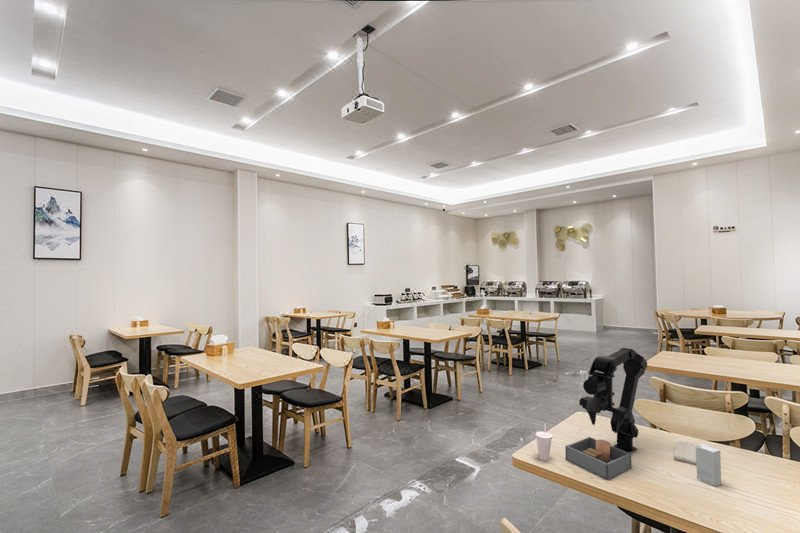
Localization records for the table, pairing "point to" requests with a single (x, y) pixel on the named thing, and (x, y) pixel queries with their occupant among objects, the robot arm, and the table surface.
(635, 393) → the robot arm
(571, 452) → the tote
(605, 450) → the cylinder
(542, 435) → the smoothie
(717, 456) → the skincare box
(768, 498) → the table surface
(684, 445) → the washcloth
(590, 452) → the cube
